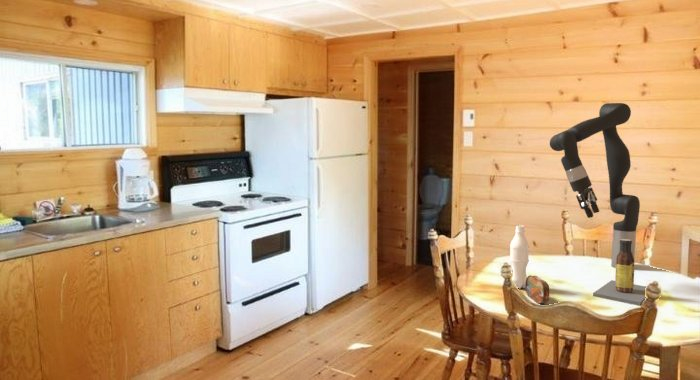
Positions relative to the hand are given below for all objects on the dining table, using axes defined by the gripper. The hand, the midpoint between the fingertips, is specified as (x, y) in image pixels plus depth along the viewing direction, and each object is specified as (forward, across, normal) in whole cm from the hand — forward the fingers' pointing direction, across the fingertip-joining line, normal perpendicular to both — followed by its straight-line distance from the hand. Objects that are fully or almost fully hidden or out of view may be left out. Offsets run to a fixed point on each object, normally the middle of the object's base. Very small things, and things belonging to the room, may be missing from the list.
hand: (593, 214), depth 209 cm
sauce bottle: (+30, -12, -3) cm, 32 cm away
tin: (+19, -39, +18) cm, 47 cm away
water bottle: (+15, -29, +29) cm, 43 cm away
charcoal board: (+30, -12, -3) cm, 33 cm away
